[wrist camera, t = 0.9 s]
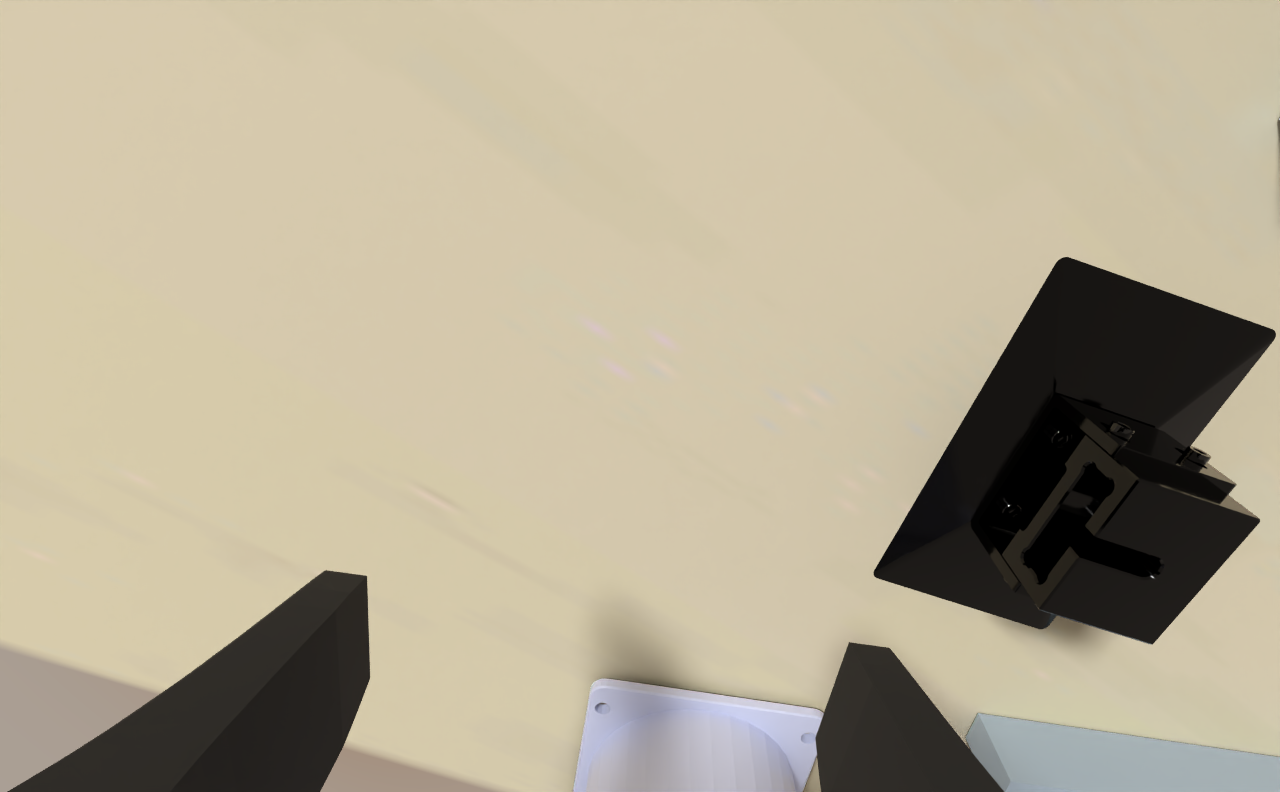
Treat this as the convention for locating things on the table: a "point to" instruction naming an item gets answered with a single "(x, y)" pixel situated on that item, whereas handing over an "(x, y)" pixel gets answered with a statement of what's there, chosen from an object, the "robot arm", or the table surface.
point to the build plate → (1087, 464)
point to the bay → (1110, 761)
